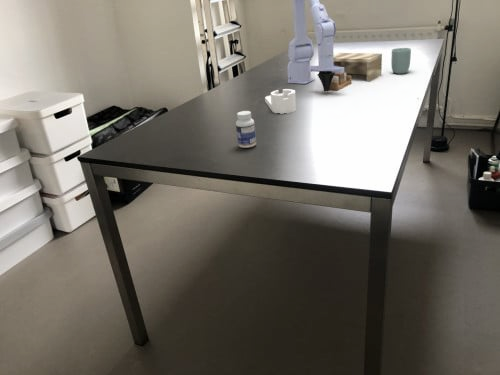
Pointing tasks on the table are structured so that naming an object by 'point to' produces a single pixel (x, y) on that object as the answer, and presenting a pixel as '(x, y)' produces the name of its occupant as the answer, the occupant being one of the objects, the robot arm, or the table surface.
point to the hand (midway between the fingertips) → (326, 90)
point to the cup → (400, 60)
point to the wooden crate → (360, 64)
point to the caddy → (340, 81)
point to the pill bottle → (245, 129)
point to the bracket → (282, 101)
